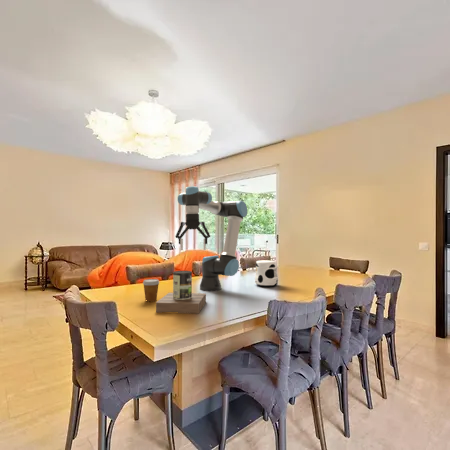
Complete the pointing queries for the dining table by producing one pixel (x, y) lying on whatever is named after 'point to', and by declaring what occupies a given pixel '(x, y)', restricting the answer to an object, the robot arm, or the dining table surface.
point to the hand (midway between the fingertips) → (193, 250)
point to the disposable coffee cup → (151, 289)
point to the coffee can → (182, 285)
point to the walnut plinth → (181, 304)
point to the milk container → (266, 273)
